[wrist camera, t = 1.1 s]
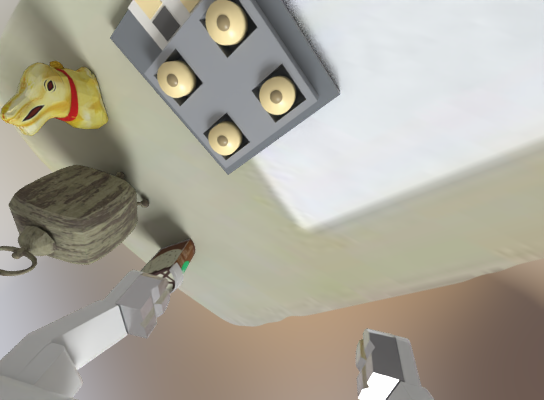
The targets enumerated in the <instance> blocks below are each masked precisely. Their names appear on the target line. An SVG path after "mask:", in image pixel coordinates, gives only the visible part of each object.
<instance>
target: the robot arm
mask: <svg viewBox="0 0 544 400" xmlns="http://www.w3.org/2000/svg"><path fill="white" fill-rule="evenodd" d="M167 286H168V279H166V278H163V277H159V276H155V275H152V274H148V273H145V272H141V271H137V270H132V271H130V272H128V273H127V274H126V275H125V277H124V278H123V279H122V280H121V281H120V282H119V283H118V284H117V285H116V286H115V288H114V289H113V290H112V291H111V292H110V293H109V294H108V295H107V296H106V297H105V299H104V300H103V301H102V300H98V301H96V302H94V303H92V304H89V305H87V306H85V307H83V308H81V309H79V310H77V311H75V312H73V313H71V314H69V315H67V316H64V317H62V318H60V319H59V320H56V321H54V322H52V323H50V324H48V325H46V326H44V327H42V328H39V329H37V330H35V331H33V332H31V333H29V334H28V335H27V336H26V337H24V339H22V340H21V341H20V342H19V343H18V344H17V345H16V346H15V347H14V348H13V349H12V350H11V351H10V352H9V353H8V354H7V355H5V356H4V357H3V358H2V359H1V360H0V400H77V399H73V397H74V396H75V394H76V393H77V392H78V390H79V389H80V387H81V386H82V385H83V380H82V378H81V376H80V375H79V373H78V371H77V370H78V369H80V368H81V367H82V366H84V365H85V364H87V363H88V362H90V361H91V360H92V359H94V358H95V357H96V356H98V355H99V354H101V353H102V352H103V351H105V350H107V349H108V348H109V347H111V346H112V345H114V344H115V343H117V342H118V341H119V340H121V339H122V338H124V337H125V336H127V334H131V335H135V336H140V337H143V338H148V336H149V335H150V333H151V332H152V330H153V329H154V327H155V326H156V324H157V319H156V318H157V317H159V316H160V315H162V314H163V313H164V311H165V310H166V308H167V306H168V303H169V301H170V291H169V290H168V289H167V288H166V287H167ZM356 366H357V368H358V370H359V371H360V374H359V375H358V377H357V389H358V398H359V399H362V400H434V398H433V397H432V396H431V394H430V393H429V392H428V390H427V389H426V388H424V387H421V383H420V379H419V375H418V371H417V367H416V363H415V359H414V355H413V351H412V347H411V343H410V341H409V339H407V338H403V337H399V336H395V335H392V334H388V333H384V332H380V331H376V330H371V329H365V330H364V333H363V339H362V340H360V341H359V343H358V345H357V350H356Z"/></svg>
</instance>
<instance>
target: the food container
mask: <svg viewBox="0 0 544 400" xmlns="http://www.w3.org/2000/svg"><path fill="white" fill-rule="evenodd" d="M194 254H195V246H194V243H193V241H192V240H191V238H190V239H187V240H185V241H182V242H179V243H176V244H173V245H170V246H167V247H164V248H161V249H160V250H159V251H158V253H157V254H156V255H155V256H154V257H153V258H152V259H151V260H150V261H149V262H148V263H147V264H146V266H144V268H143V269H142V270H141V272H145V273H148V274H152V275H155V276H159V277H163V278H166V279H168V286H167V287H166V288H167V289H168V290H169V291H170V293H172V292H174V291H175V290H176V289H177V288H178V287H179V286H180V285H181V284H182V282H183V274H184V272H185V270H186V268H187V266H188V265H189V263H190V261H191V259H192V257H193V256H194Z"/></svg>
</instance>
